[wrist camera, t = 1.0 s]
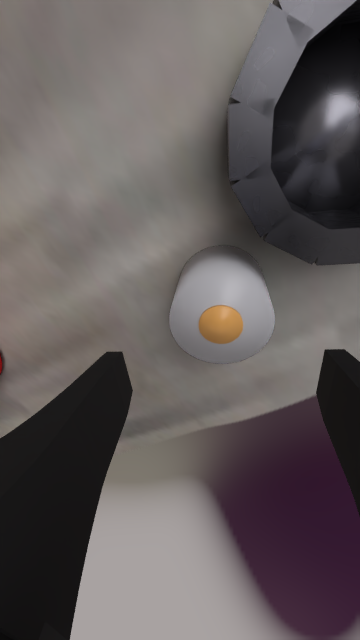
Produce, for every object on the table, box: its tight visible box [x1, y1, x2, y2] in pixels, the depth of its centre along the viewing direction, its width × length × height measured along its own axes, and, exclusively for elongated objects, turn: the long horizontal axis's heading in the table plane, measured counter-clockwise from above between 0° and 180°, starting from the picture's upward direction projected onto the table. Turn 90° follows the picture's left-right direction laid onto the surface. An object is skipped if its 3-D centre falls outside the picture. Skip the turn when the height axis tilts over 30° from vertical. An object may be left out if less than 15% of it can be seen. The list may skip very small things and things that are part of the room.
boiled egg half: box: [169, 245, 275, 364], centre depth 15 cm, size 5×5×4 cm
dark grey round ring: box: [227, 0, 360, 265], centre depth 10 cm, size 9×9×4 cm
